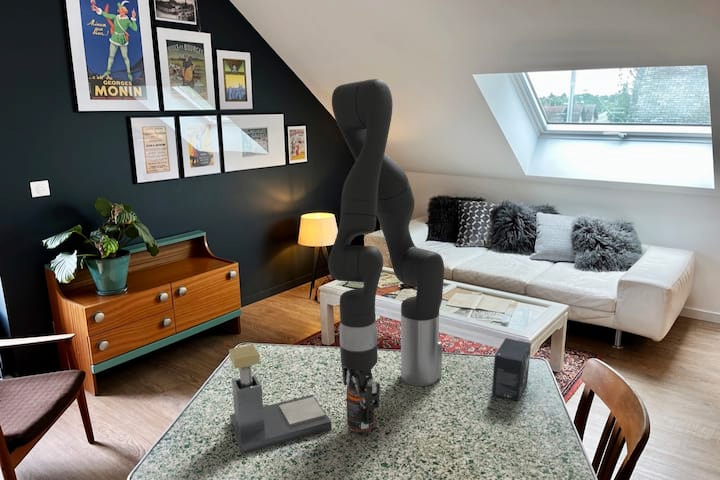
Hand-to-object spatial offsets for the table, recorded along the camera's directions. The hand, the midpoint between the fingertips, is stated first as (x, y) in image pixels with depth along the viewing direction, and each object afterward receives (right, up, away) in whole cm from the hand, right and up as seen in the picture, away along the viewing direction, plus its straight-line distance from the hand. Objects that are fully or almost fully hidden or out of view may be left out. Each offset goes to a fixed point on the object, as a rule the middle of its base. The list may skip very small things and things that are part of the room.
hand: (361, 414), depth 115 cm
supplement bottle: (0, -3, +1) cm, 3 cm away
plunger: (-23, +2, -1) cm, 24 cm away
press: (-17, -4, +3) cm, 18 cm away
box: (+36, +1, +17) cm, 40 cm away
